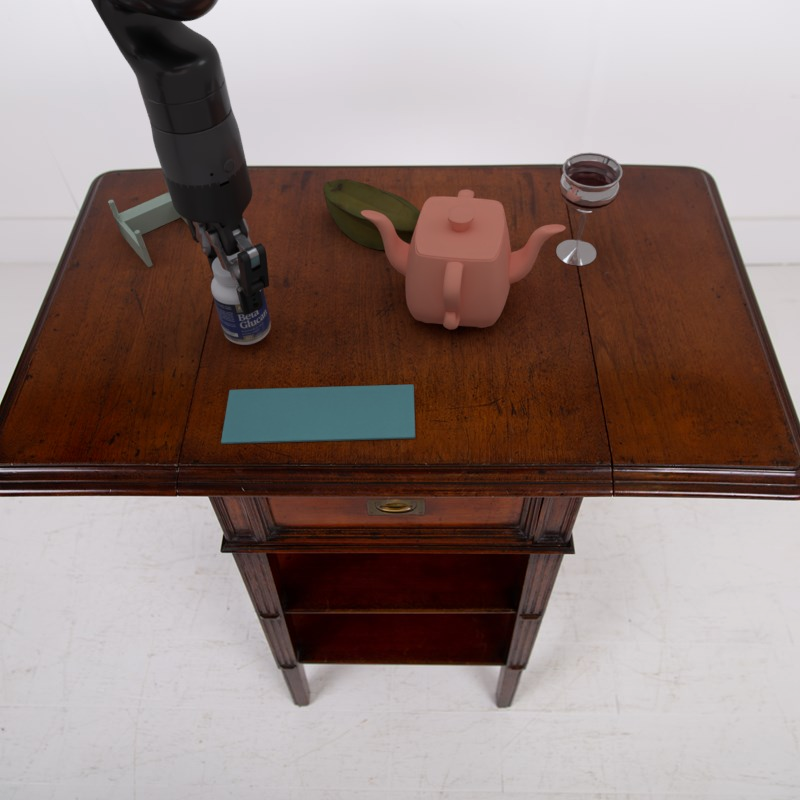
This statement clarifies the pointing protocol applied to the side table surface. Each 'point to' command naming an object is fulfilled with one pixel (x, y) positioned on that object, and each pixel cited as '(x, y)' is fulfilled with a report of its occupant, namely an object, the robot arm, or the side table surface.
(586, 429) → the side table surface
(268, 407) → the strip
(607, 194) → the wineglass
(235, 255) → the pill bottle
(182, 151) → the robot arm
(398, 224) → the fruit
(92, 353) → the side table surface
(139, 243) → the rack
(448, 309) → the teapot
